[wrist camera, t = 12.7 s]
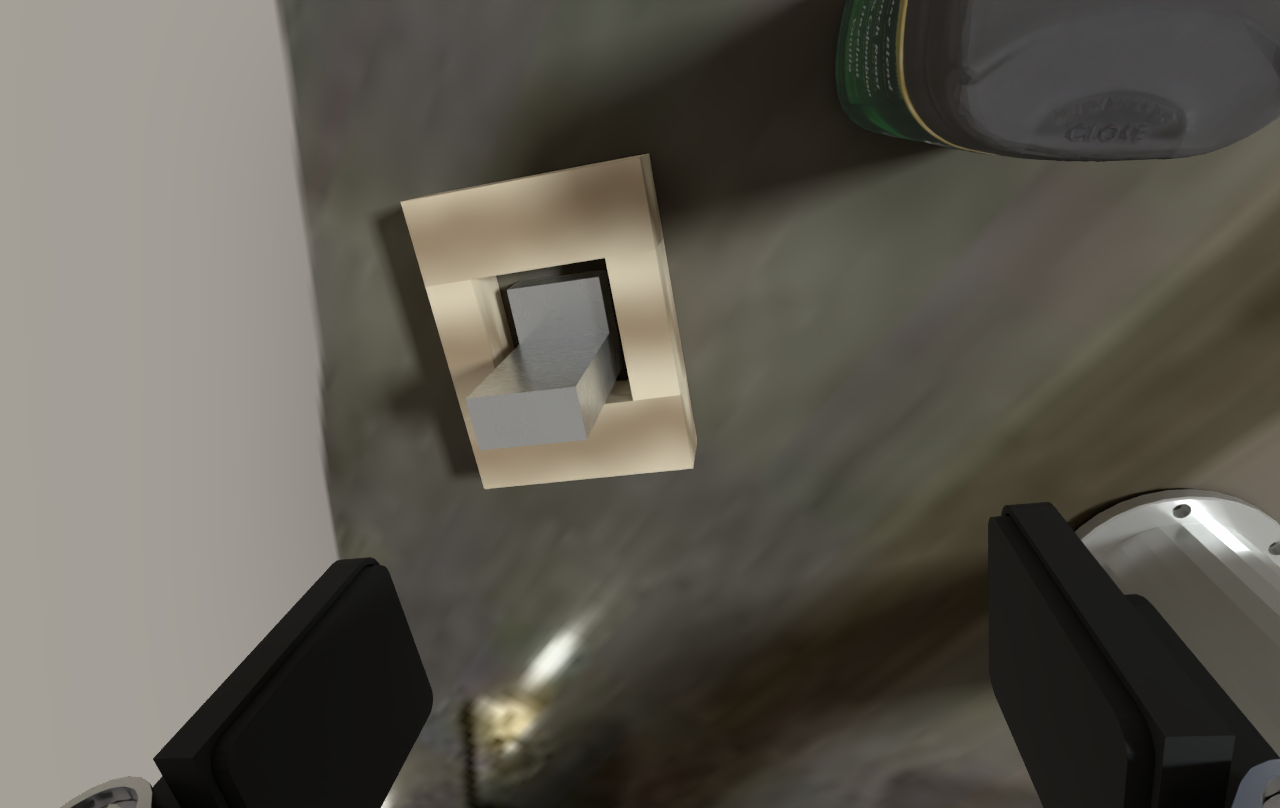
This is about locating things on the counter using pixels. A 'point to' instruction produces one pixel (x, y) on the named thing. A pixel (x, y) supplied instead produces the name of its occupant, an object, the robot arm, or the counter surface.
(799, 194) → the counter surface
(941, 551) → the counter surface
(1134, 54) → the coffee jar
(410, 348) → the counter surface
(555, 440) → the bracket
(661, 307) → the block
